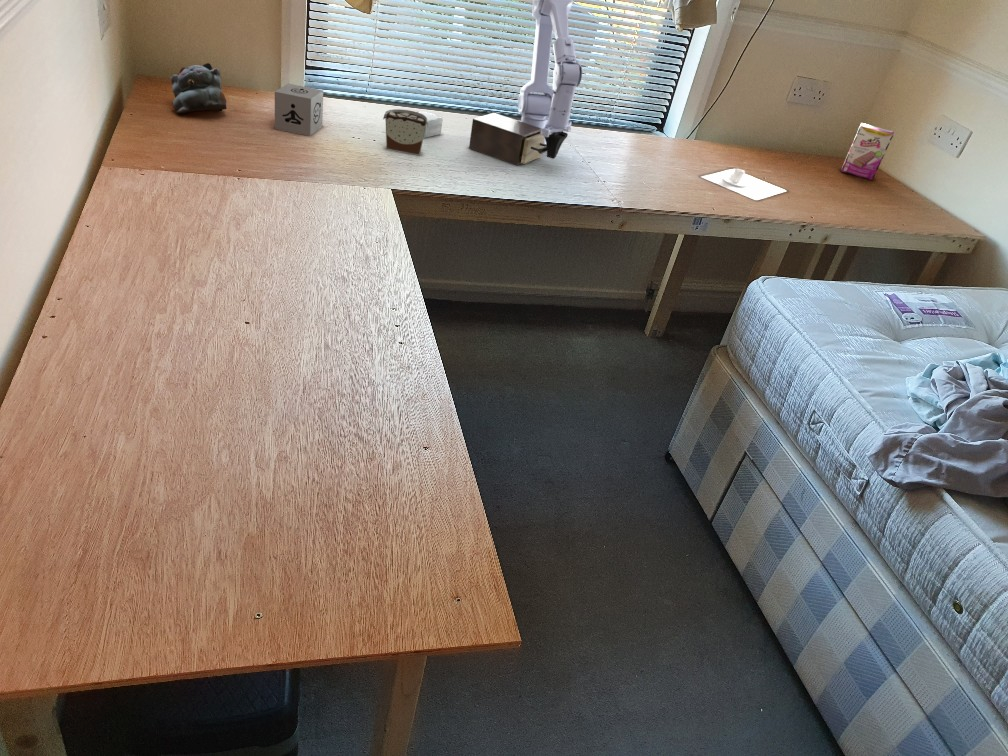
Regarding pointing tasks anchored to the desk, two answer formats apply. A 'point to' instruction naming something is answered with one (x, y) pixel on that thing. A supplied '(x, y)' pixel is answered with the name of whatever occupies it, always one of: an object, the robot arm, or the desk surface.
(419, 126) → the panettone cake
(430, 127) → the small box
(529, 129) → the cabinet
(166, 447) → the desk surface
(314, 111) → the icon cube
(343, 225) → the desk surface
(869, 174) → the candy bar box
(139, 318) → the desk surface
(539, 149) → the drawer
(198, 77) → the lucky cat figurine
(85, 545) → the desk surface
